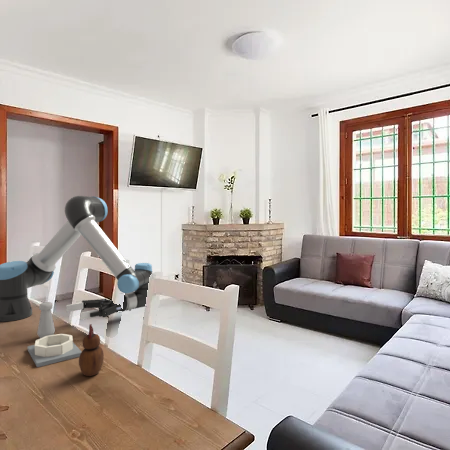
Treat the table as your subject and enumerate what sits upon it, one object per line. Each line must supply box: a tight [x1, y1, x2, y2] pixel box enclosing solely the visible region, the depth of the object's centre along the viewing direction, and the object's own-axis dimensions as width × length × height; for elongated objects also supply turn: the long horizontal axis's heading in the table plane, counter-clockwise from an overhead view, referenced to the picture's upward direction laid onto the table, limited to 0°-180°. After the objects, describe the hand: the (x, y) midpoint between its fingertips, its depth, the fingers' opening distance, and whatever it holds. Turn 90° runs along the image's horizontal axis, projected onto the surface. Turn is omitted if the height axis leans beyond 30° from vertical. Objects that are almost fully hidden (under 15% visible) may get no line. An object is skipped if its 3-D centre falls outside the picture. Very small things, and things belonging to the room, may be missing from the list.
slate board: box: [26, 342, 83, 368], centre depth 112 cm, size 16×13×1 cm
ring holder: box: [34, 333, 74, 357], centre depth 112 cm, size 11×11×3 cm
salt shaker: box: [36, 301, 56, 339], centre depth 124 cm, size 6×6×13 cm
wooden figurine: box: [78, 323, 105, 377], centre depth 98 cm, size 7×6×15 cm
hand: (73, 312), depth 131 cm, fingers open, 13 cm apart
